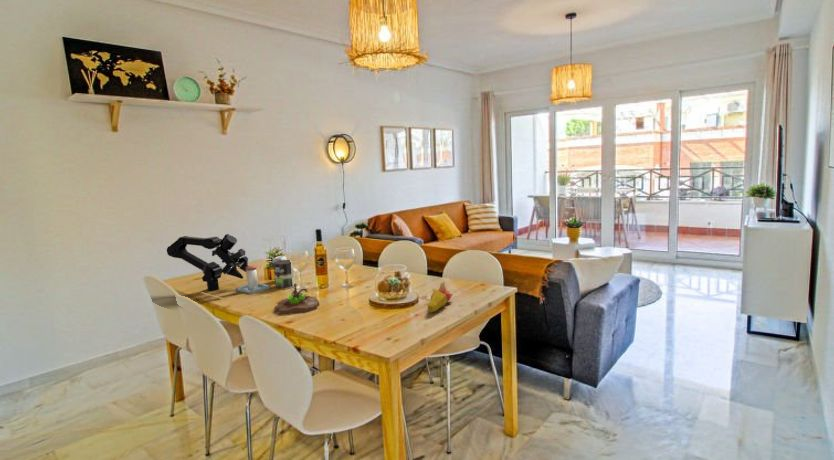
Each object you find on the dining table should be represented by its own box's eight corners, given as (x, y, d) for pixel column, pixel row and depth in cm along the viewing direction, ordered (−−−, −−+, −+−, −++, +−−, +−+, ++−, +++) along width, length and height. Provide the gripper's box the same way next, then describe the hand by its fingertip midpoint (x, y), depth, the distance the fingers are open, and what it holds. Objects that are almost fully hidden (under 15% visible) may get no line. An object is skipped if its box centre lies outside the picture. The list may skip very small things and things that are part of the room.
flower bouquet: (429, 323, 197) (442, 298, 219) (444, 316, 193) (456, 291, 216) (418, 307, 196) (433, 284, 219) (434, 300, 193) (447, 277, 216)
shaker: (246, 290, 246) (243, 267, 244) (251, 287, 251) (248, 265, 249) (255, 290, 245) (253, 267, 243) (260, 287, 250) (258, 265, 248)
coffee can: (287, 290, 245) (284, 264, 243) (271, 289, 249) (268, 263, 247) (298, 285, 255) (296, 260, 253) (283, 284, 259) (281, 259, 256)
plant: (319, 299, 228) (317, 277, 227) (319, 311, 209) (317, 287, 208) (277, 303, 224) (274, 281, 222) (273, 316, 205) (271, 292, 203)
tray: (236, 291, 248) (235, 287, 247) (255, 286, 257) (255, 282, 257) (251, 295, 239) (250, 291, 239) (271, 289, 248) (270, 285, 248)
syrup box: (284, 283, 260) (282, 258, 258) (274, 283, 261) (272, 258, 259) (289, 280, 265) (286, 255, 263) (279, 280, 267) (277, 256, 264)
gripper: (225, 248, 236) (247, 269, 236) (243, 241, 254) (264, 261, 255) (212, 263, 238) (234, 284, 239) (231, 255, 257) (251, 275, 257)
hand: (247, 275), depth 247 cm, fingers open, 9 cm apart
